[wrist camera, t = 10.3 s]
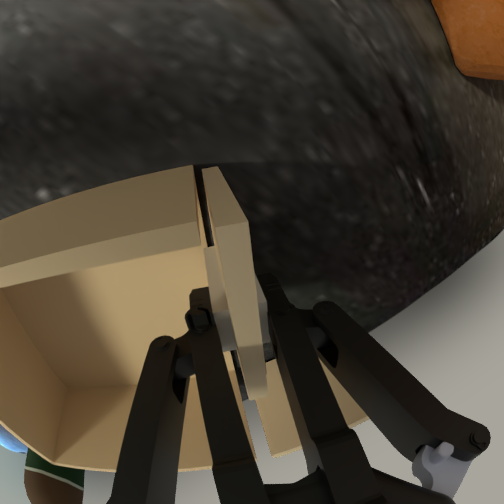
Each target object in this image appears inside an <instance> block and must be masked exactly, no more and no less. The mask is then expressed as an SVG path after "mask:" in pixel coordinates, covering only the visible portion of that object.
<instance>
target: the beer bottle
mask: <svg viewBox="0 0 504 504" xmlns="http://www.w3.org/2000/svg"><path fill="white" fill-rule="evenodd" d="M84 471H85V469H77V468H70V467H64V466H58V465H53V464H51V463H50V462H48V461H47V460H45V459H44V458H42V457H41V456H40V455H38V454H37V453H35V452H34V451H33V450H31V449H30V448H29V447H28V452H27V458H26V464H25V474H24V484H25V488H26V492H27V496H28V498H29V500H30V502H31V504H82V501H83V491H84Z"/></svg>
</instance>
